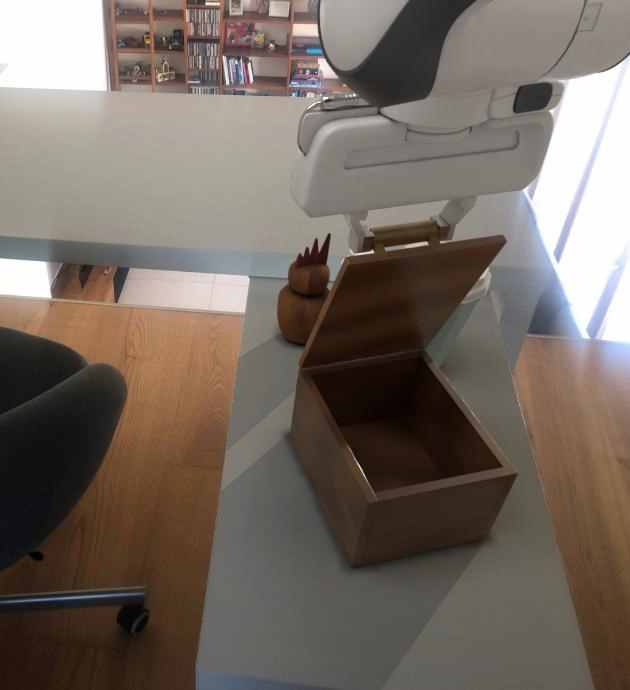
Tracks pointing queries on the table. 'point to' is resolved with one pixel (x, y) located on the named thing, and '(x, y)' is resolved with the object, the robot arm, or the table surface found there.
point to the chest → (397, 457)
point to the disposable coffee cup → (455, 317)
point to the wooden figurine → (304, 293)
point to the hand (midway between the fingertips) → (399, 243)
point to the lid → (396, 294)
